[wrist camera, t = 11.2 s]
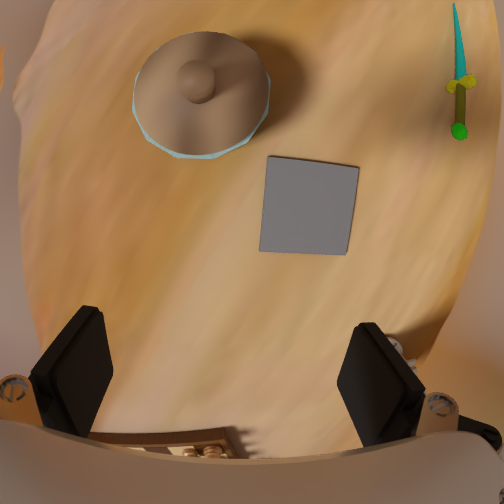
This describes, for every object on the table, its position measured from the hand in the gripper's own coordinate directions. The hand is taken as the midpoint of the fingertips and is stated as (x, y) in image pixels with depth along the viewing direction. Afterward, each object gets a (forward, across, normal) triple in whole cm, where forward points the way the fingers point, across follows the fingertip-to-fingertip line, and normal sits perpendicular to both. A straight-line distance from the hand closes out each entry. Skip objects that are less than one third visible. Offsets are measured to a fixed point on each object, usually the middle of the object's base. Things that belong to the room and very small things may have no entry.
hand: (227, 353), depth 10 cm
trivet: (+28, -10, -1) cm, 30 cm away
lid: (+19, +4, -13) cm, 23 cm away
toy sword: (+28, -33, -30) cm, 52 cm away
